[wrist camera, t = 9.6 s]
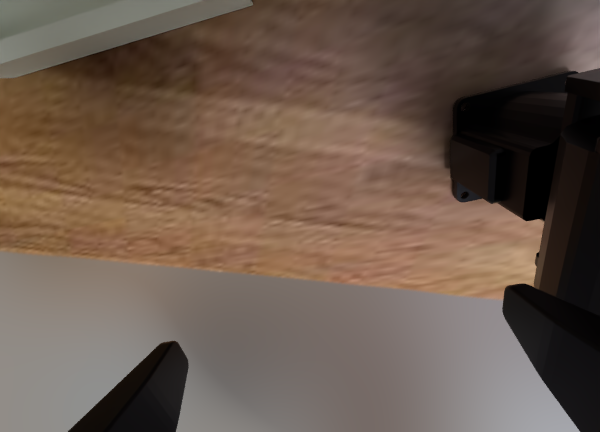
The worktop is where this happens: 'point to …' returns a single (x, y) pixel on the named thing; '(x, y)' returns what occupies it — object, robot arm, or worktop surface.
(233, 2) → the tray
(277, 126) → the worktop surface
